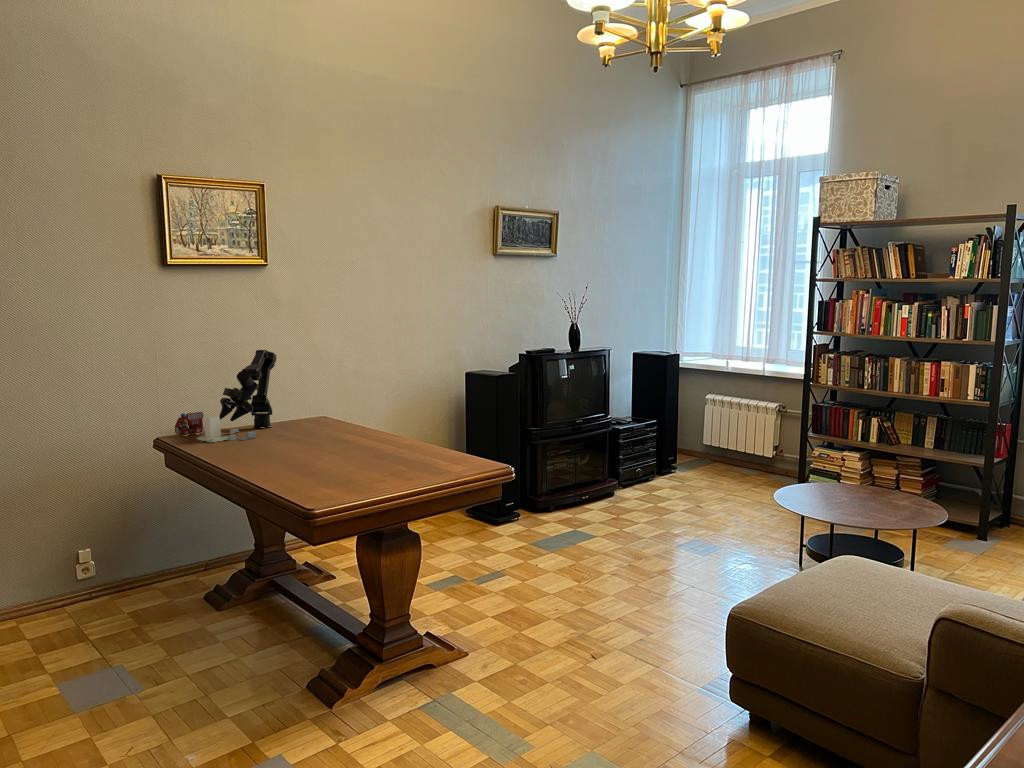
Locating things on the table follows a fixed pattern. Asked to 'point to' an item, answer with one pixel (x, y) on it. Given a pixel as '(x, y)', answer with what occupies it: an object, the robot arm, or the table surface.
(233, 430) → the channel
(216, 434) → the ivory block
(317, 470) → the table surface
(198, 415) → the toy fire truck
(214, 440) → the sage bay
